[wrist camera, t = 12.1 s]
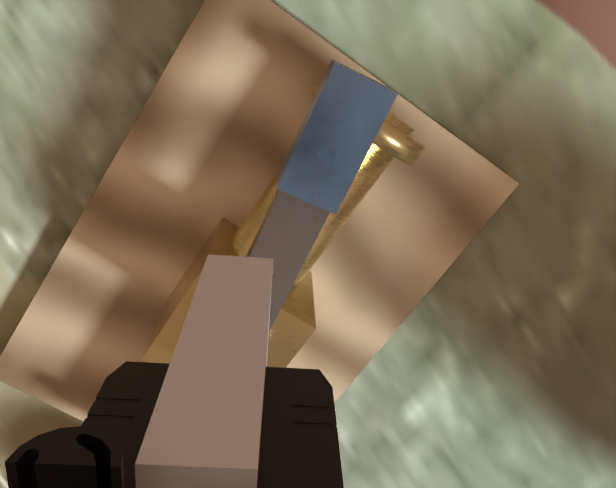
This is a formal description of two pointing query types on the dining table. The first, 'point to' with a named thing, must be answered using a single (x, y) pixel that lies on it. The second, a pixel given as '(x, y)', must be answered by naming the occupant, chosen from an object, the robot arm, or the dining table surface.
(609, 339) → the dining table surface
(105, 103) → the dining table surface
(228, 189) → the board
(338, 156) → the lever
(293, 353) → the valve body
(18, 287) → the dining table surface
